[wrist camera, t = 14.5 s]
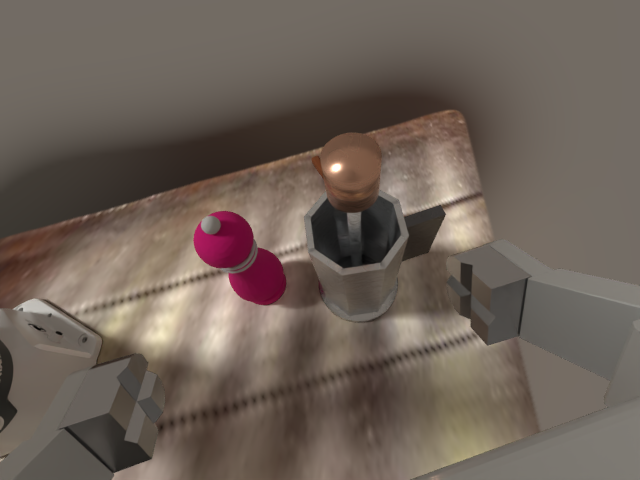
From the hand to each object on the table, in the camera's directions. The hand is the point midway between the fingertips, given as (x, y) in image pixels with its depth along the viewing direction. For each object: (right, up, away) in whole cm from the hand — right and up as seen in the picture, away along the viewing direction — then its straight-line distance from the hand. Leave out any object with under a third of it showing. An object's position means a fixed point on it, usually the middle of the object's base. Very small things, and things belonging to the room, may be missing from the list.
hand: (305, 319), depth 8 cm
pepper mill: (-8, -5, +40) cm, 41 cm away
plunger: (+6, -3, +36) cm, 37 cm away
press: (+7, -3, +38) cm, 39 cm away
